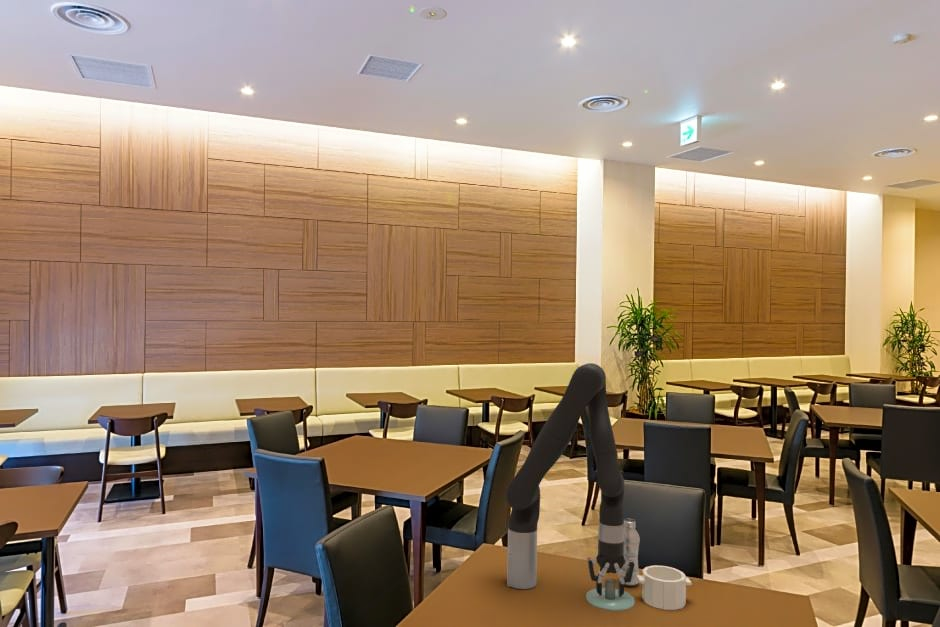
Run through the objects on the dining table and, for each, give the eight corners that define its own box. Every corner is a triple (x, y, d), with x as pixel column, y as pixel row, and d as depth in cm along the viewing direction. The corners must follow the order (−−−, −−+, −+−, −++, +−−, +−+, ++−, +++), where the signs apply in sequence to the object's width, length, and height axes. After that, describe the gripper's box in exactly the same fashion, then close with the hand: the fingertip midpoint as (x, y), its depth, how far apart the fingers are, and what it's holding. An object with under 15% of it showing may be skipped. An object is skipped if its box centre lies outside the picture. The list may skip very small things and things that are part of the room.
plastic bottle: (637, 580, 196) (638, 517, 197) (641, 589, 190) (642, 524, 190) (616, 579, 197) (617, 516, 197) (620, 587, 190) (620, 523, 191)
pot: (642, 608, 176) (642, 580, 176) (633, 590, 188) (633, 564, 188) (696, 610, 175) (696, 582, 176) (683, 592, 187) (683, 566, 188)
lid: (589, 610, 175) (589, 589, 175) (583, 589, 189) (583, 570, 189) (638, 612, 174) (639, 591, 174) (629, 591, 188) (629, 572, 188)
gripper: (588, 541, 179) (587, 599, 178) (638, 543, 178) (637, 601, 178) (584, 532, 186) (584, 588, 186) (632, 534, 185) (631, 590, 185)
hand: (610, 594), depth 182 cm, fingers open, 5 cm apart
